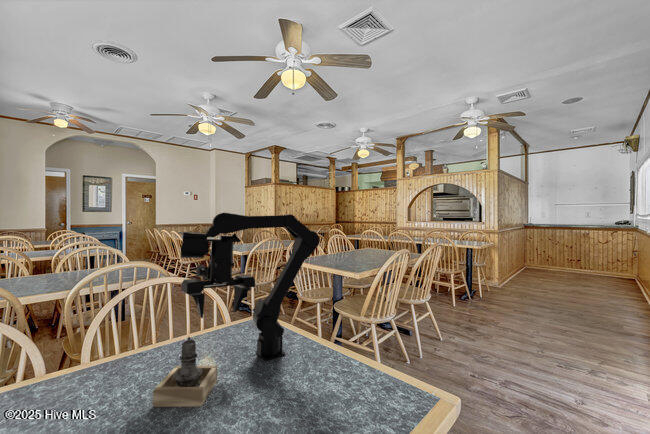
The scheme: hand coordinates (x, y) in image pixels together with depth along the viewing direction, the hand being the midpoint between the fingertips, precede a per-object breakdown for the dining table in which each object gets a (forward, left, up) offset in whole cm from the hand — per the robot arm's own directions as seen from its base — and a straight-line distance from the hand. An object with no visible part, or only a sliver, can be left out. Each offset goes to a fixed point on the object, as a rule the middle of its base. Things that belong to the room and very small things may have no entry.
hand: (218, 314), depth 80 cm
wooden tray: (+10, +10, -13) cm, 19 cm away
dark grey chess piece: (+10, +10, -13) cm, 19 cm away
